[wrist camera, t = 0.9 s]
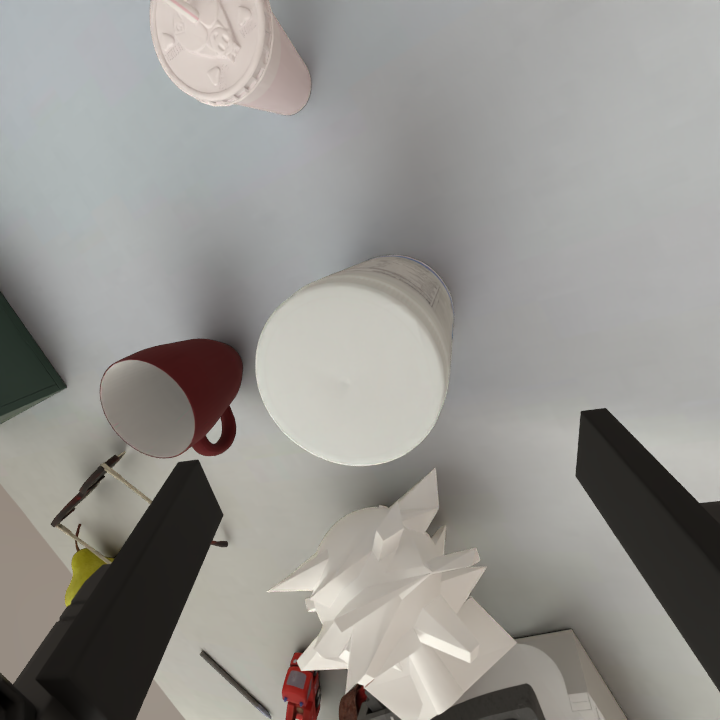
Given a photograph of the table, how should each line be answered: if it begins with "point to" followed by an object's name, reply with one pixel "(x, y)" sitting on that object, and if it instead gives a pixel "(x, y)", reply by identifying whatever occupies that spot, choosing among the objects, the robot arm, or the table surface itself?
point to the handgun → (472, 707)
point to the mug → (173, 397)
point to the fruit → (82, 569)
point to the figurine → (352, 703)
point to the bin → (22, 367)
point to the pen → (235, 684)
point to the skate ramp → (552, 678)
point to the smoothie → (229, 54)
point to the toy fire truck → (301, 692)
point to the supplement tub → (359, 361)
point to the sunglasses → (88, 488)
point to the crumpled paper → (398, 607)
